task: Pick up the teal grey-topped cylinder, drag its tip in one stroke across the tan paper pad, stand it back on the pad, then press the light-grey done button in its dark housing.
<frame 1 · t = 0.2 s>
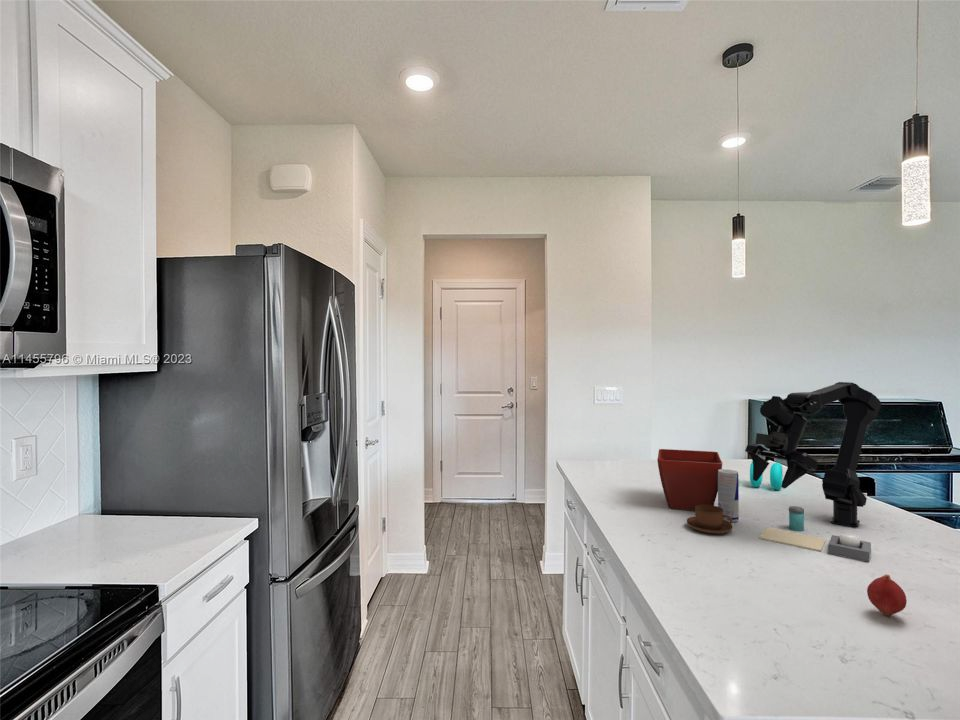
hand: (768, 484, 133), 15 cm above the worktop, tool tilted 30°, fingers open, 9 cm apart
teal grey-topped cylinder: (796, 529, 139), on the worktop
beverage can: (728, 520, 147), on the worktop
button housing: (849, 552, 122), on the worktop
donuts: (766, 488, 182), on the worktop
done button: (849, 541, 122), point 3 cm above the worktop, slide at 0.0 cm
paper pad: (792, 539, 131), on the worktop
onion: (886, 616, 93), on the worktop
plant pot: (688, 505, 162), on the worktop
cup and saucer: (709, 530, 140), on the worktop
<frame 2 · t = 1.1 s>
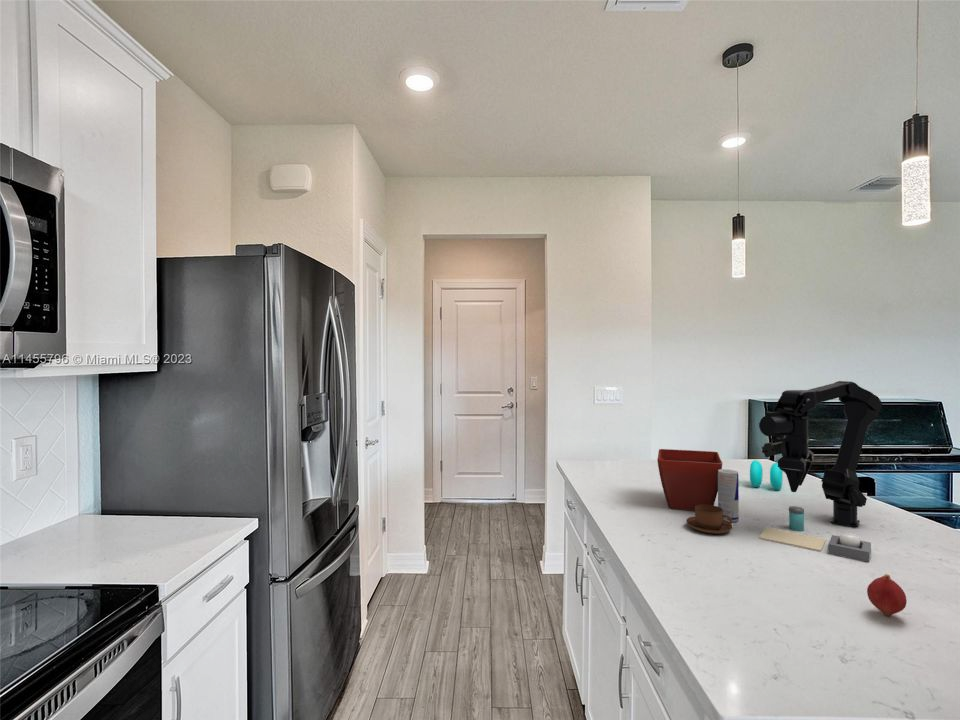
hand: (796, 488, 139), 12 cm above the worktop, tool pointing down, fingers open, 9 cm apart
nothing on the worktop moved.
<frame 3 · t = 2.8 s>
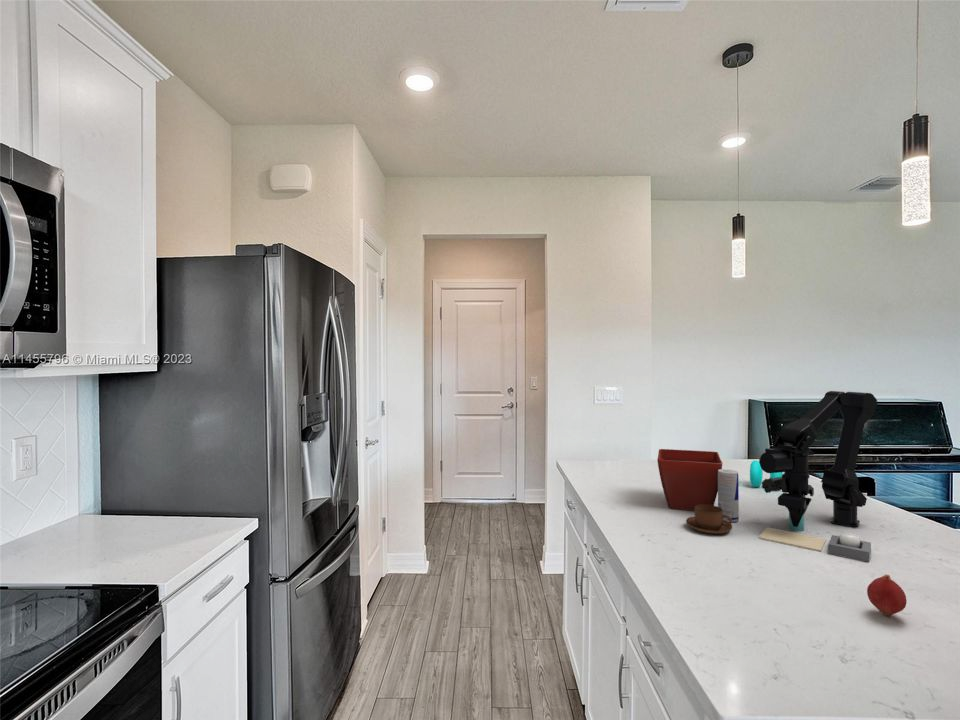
hand: (796, 524, 139), 1 cm above the worktop, tool pointing down, fingers closed on teal grey-topped cylinder, 4 cm apart
teal grey-topped cylinder: (796, 529, 139), on the worktop, touching gripper
everything else where it was.
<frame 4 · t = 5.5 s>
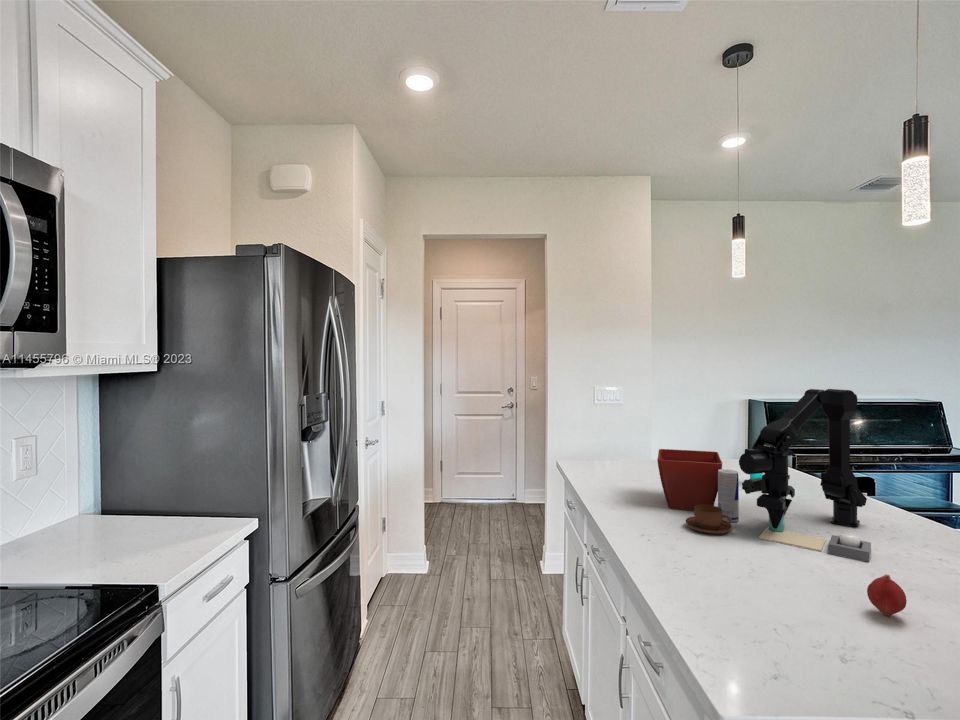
hand: (776, 526, 137), 2 cm above the worktop, tool pointing down, fingers closed on teal grey-topped cylinder, 4 cm apart
teal grey-topped cylinder: (776, 530, 137), on the worktop, touching gripper
everything else where it was.
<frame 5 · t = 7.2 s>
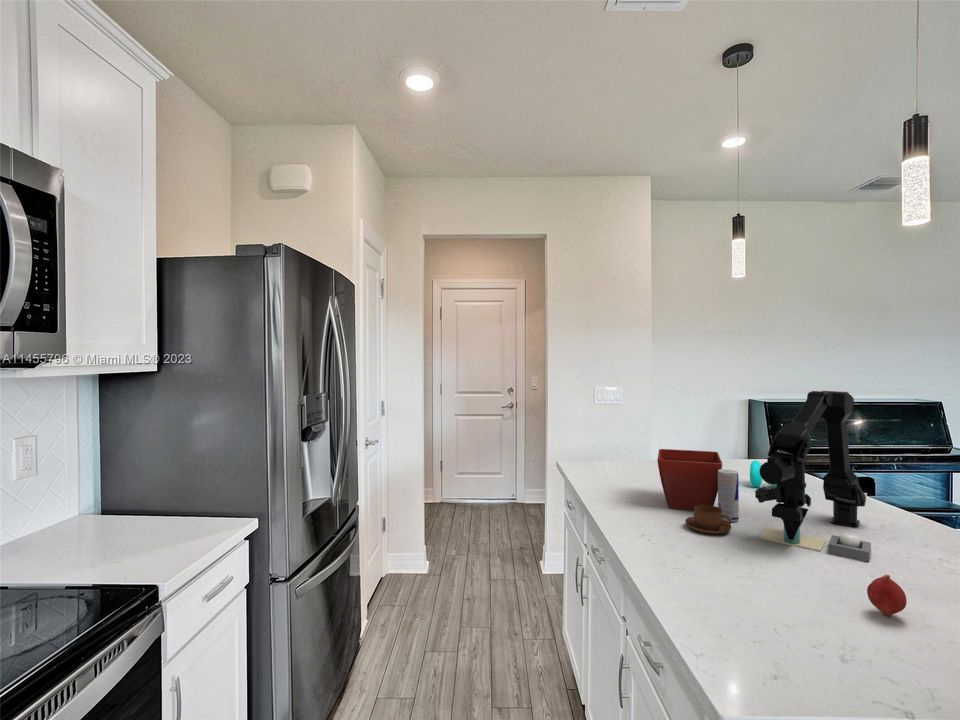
hand: (792, 537, 129), 2 cm above the worktop, tool pointing down, fingers closed on teal grey-topped cylinder, 4 cm apart
teal grey-topped cylinder: (791, 541, 129), resting on paper pad, touching gripper
everything else where it was.
when the fingers open (2 cm above the worktop, at t = 7.9 s): teal grey-topped cylinder stays where it is, resting on paper pad.
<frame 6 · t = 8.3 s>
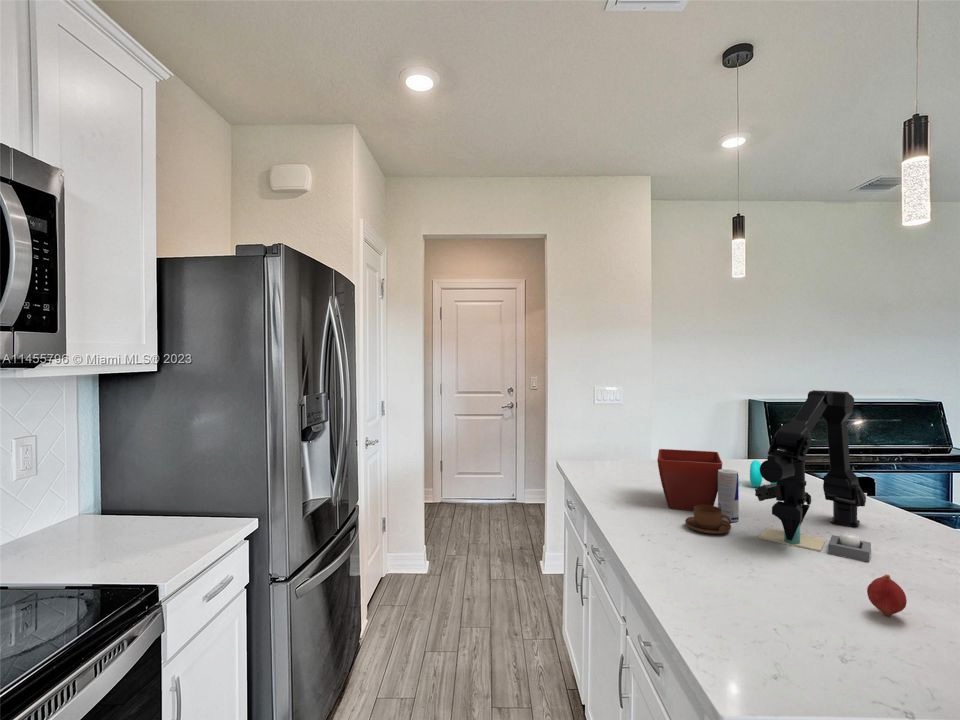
hand: (792, 535, 128), 2 cm above the worktop, tool pointing down, fingers open, 8 cm apart
teal grey-topped cylinder: (792, 541, 129), resting on paper pad
everything else where it was.
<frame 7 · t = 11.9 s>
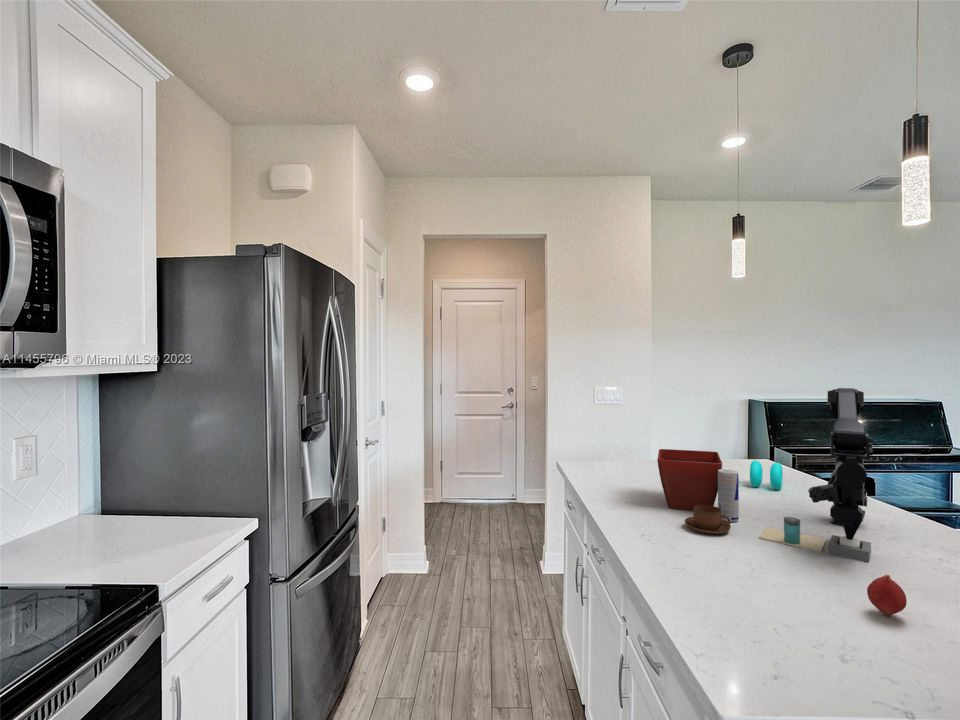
hand: (849, 539, 122), 3 cm above the worktop, tool pointing down, fingers closed, pressing on done button
done button: (849, 545, 122), point 2 cm above the worktop, slide at -1.0 cm, touching gripper
everything else where it was.
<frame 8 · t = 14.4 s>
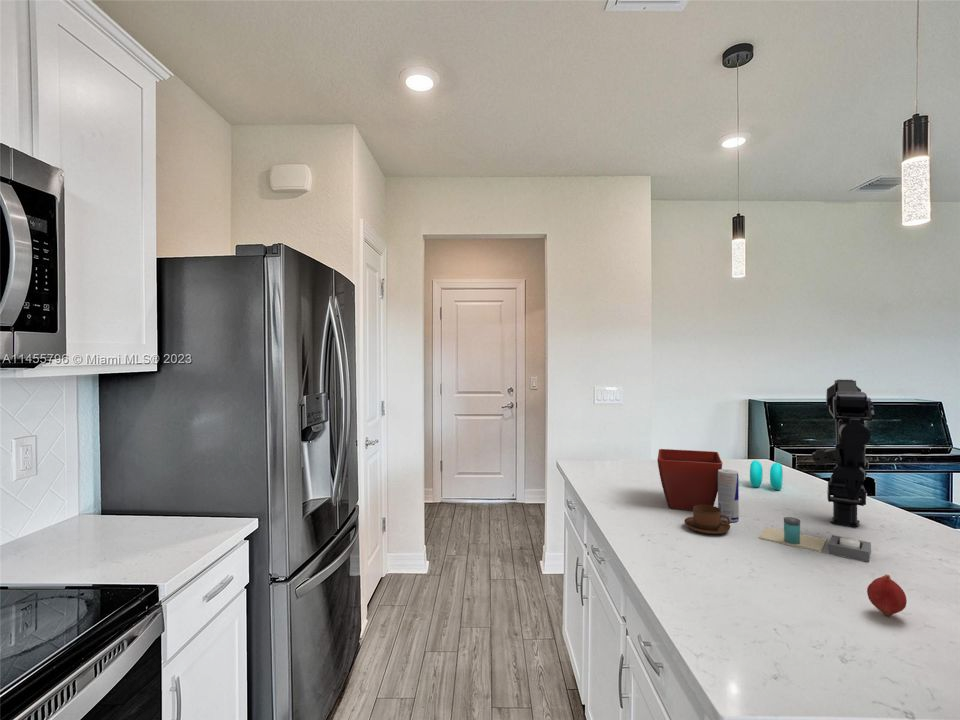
hand: (851, 500, 126), 12 cm above the worktop, tool pointing down, fingers closed
done button: (849, 546, 122), point 2 cm above the worktop, slide at -1.2 cm
everything else where it was.
at the end: done button slide at -1.2 cm; teal grey-topped cylinder inside the target area (3.0 cm from its centre), resting on paper pad; the gripper is holding nothing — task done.
